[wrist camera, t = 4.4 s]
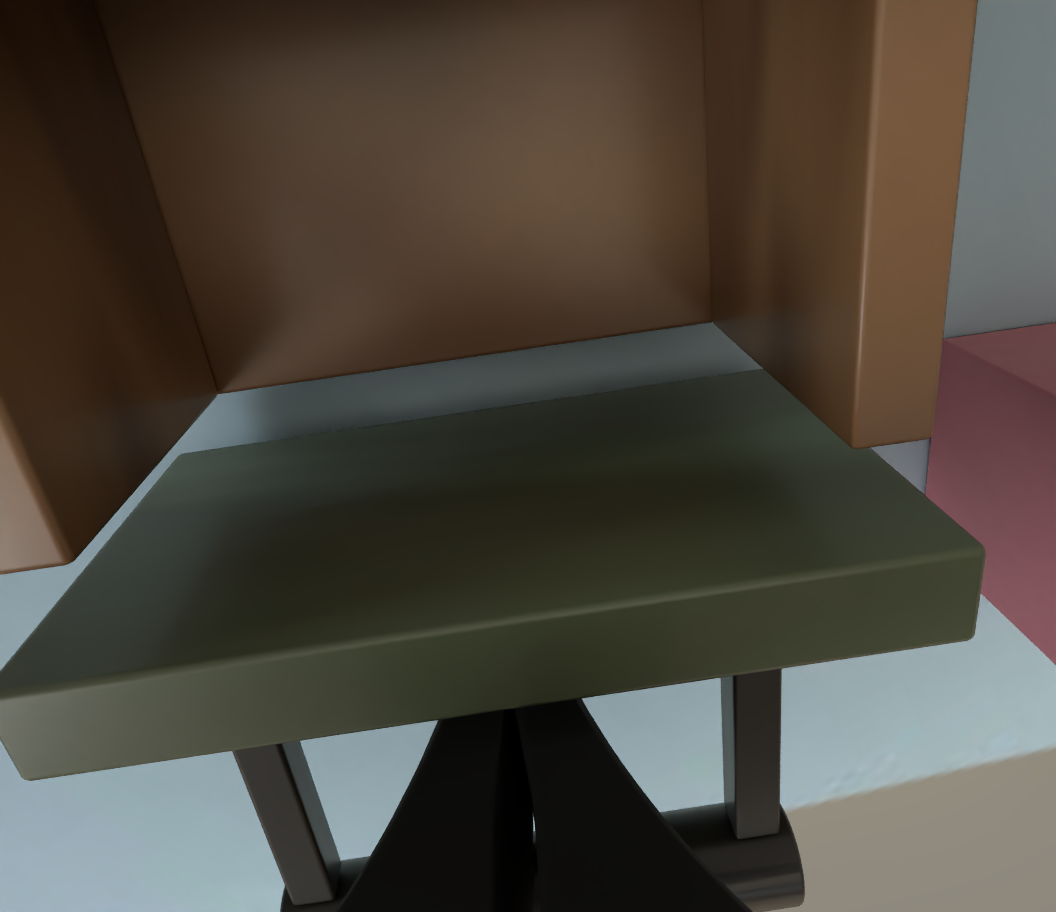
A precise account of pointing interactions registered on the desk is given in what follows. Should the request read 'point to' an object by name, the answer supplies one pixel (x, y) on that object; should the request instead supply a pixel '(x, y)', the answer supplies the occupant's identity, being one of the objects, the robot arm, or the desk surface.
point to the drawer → (462, 332)
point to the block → (1002, 466)
